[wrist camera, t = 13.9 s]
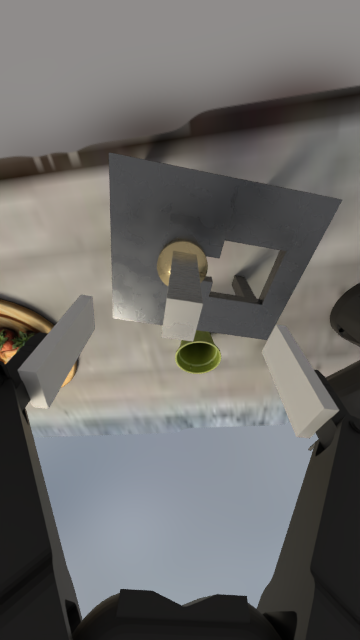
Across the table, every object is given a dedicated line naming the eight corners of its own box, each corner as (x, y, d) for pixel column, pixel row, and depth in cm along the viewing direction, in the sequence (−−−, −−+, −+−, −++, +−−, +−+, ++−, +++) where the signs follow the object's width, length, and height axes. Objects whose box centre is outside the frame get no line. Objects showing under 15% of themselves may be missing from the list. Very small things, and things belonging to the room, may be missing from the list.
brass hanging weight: (205, 226, 30) (229, 293, 14) (197, 264, 33) (209, 353, 17) (166, 219, 29) (144, 280, 14) (161, 258, 33) (140, 344, 17)
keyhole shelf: (281, 186, 33) (342, 199, 20) (242, 288, 44) (267, 340, 31) (140, 158, 32) (108, 152, 19) (135, 271, 42) (113, 318, 29)
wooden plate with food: (72, 396, 68) (60, 422, 61) (-43, 369, 61) (-71, 395, 54) (86, 322, 50) (71, 346, 44) (-72, 273, 43) (-119, 292, 37)
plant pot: (177, 314, 48) (176, 340, 41) (219, 317, 48) (224, 343, 41) (175, 345, 53) (174, 372, 46) (213, 347, 54) (217, 374, 47)
